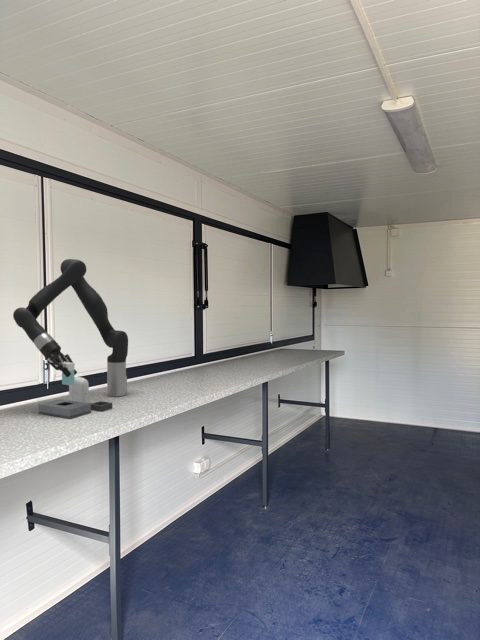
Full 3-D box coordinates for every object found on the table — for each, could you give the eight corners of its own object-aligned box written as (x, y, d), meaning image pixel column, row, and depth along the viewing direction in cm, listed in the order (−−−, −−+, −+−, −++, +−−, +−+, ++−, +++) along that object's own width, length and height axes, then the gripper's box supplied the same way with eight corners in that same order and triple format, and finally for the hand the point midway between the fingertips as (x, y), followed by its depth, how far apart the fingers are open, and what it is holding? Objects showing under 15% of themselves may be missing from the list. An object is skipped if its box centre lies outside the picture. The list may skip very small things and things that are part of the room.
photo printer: (90, 403, 214) (90, 377, 213) (82, 405, 210) (82, 378, 210) (74, 401, 219) (74, 375, 219) (67, 402, 215) (67, 376, 215)
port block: (60, 407, 205) (60, 399, 205) (91, 412, 197) (91, 403, 197) (38, 413, 194) (38, 404, 194) (69, 418, 186) (69, 409, 186)
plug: (68, 383, 198) (68, 362, 197) (74, 383, 196) (74, 363, 196) (61, 384, 195) (62, 363, 194) (68, 385, 193) (68, 363, 193)
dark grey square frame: (100, 406, 209) (100, 401, 208) (112, 408, 206) (112, 402, 205) (88, 409, 202) (88, 404, 202) (101, 411, 199) (101, 405, 199)
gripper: (42, 340, 189) (69, 371, 187) (62, 338, 203) (86, 367, 201) (31, 352, 190) (57, 383, 188) (51, 349, 204) (75, 378, 202)
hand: (72, 374), depth 195 cm, fingers closed on plug, 4 cm apart
